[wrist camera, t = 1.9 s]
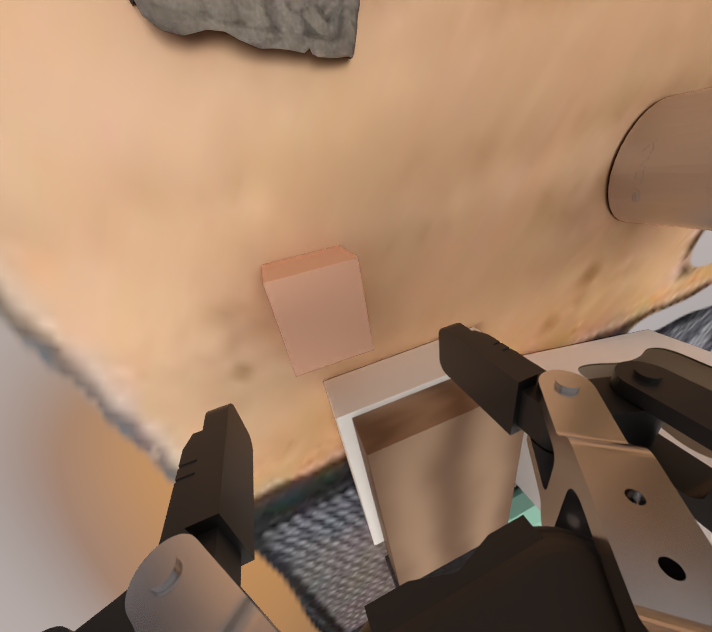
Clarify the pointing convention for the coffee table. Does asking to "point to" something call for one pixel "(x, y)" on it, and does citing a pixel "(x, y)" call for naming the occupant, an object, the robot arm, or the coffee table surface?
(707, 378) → the gable box
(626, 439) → the robot arm
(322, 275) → the support block
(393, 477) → the plank
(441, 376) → the riser
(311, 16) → the stone slab
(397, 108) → the coffee table surface
